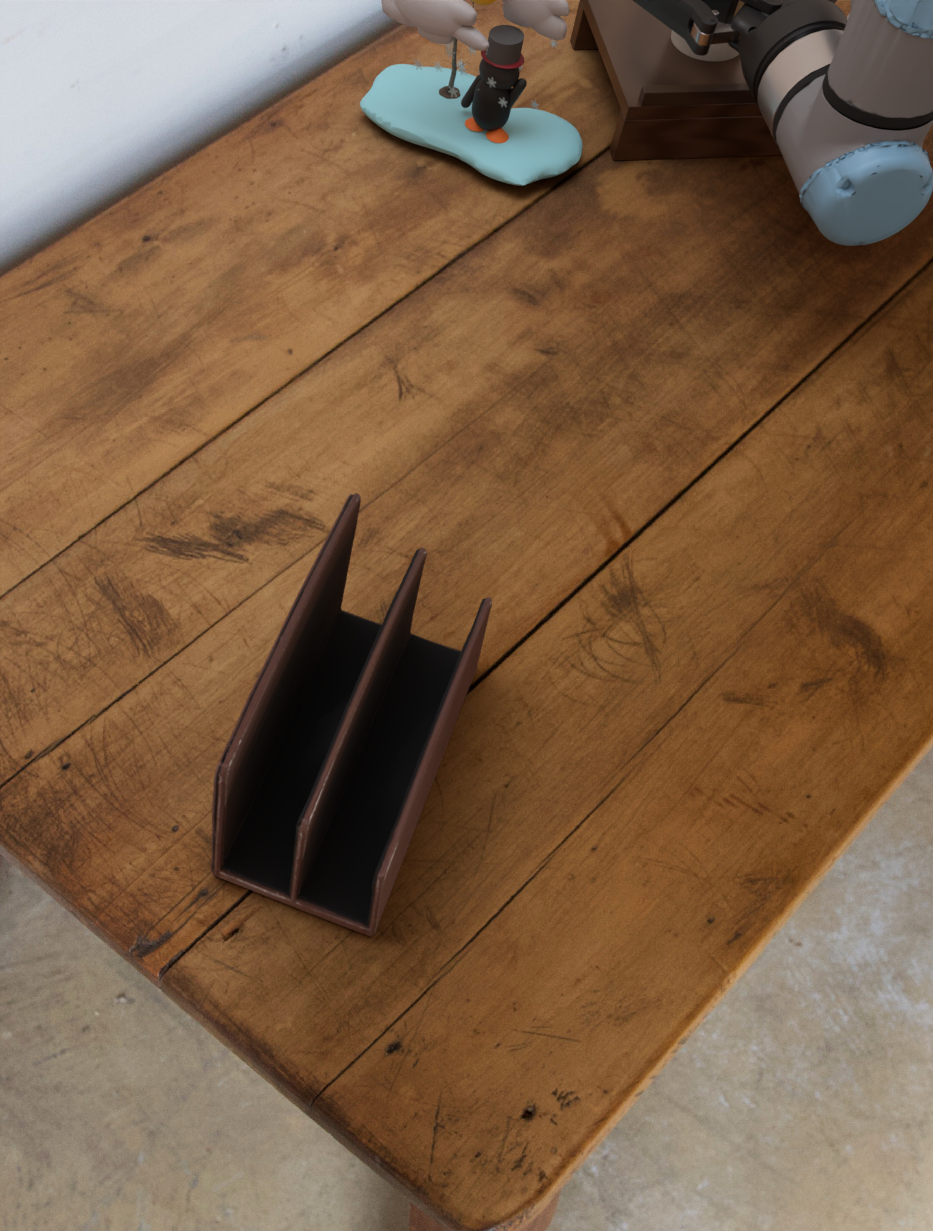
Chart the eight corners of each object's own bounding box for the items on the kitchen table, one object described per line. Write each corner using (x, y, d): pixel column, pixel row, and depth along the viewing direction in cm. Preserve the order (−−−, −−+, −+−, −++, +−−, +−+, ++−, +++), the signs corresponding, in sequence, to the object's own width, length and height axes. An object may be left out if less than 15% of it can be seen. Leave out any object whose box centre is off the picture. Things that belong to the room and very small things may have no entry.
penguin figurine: (598, 154, 108) (648, -25, 95) (529, 215, 104) (572, 36, 91) (409, 65, 115) (432, -114, 102) (337, 118, 110) (351, -61, 97)
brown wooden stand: (759, 34, 118) (784, -33, 113) (819, 154, 108) (849, 86, 103) (569, 40, 117) (585, -28, 112) (613, 160, 108) (632, 93, 102)
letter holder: (208, 877, 72) (204, 757, 60) (331, 616, 82) (348, 468, 70) (373, 942, 70) (402, 831, 58) (478, 666, 80) (521, 523, 68)
